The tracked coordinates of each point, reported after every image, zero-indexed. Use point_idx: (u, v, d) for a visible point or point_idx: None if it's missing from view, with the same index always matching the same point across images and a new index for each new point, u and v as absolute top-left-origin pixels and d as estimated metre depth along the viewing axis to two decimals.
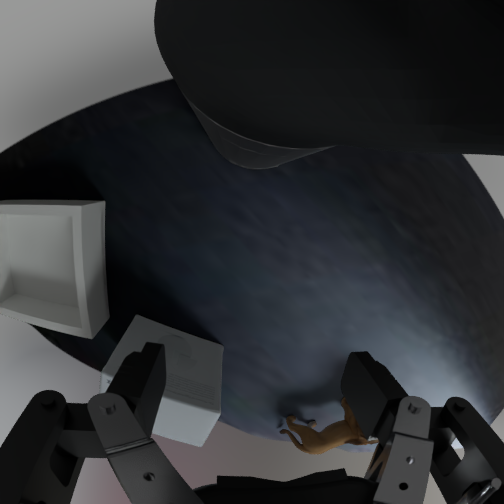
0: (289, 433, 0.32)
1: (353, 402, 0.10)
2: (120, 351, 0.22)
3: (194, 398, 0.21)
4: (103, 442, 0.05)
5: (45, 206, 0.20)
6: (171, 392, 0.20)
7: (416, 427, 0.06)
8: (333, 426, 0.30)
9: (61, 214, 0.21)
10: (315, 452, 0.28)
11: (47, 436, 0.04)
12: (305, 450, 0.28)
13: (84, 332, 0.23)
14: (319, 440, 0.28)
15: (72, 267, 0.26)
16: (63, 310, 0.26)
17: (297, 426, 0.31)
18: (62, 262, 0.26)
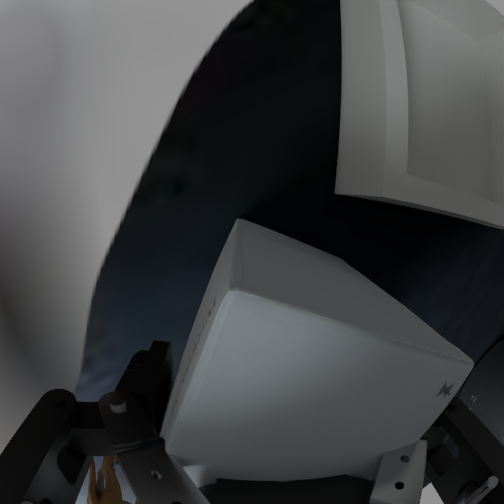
0: (94, 466, 0.15)
1: None
2: None
3: None
4: (111, 439, 0.05)
5: None
6: None
7: None
8: None
9: None
10: None
11: (55, 435, 0.04)
12: None
13: (397, 177, 0.09)
14: None
15: (433, 143, 0.13)
16: None
17: (114, 477, 0.15)
18: (437, 122, 0.12)
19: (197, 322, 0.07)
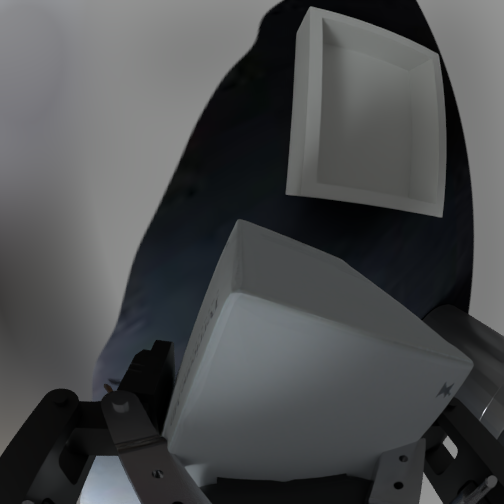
0: None
1: None
2: None
3: None
4: (114, 439, 0.05)
5: (444, 167, 0.19)
6: None
7: None
8: None
9: (438, 189, 0.19)
10: None
11: (58, 434, 0.04)
12: None
13: (310, 184, 0.18)
14: None
15: (355, 157, 0.22)
16: None
17: None
18: (360, 142, 0.22)
19: (198, 323, 0.07)
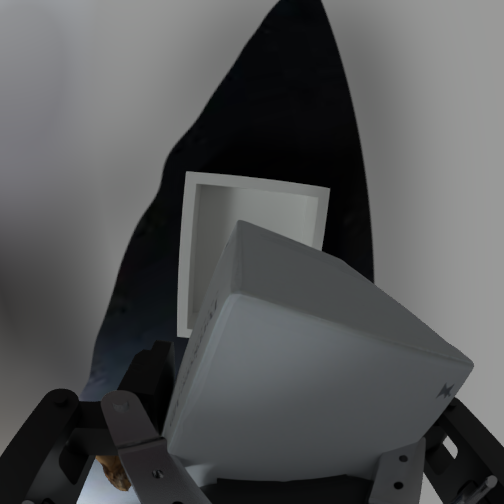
0: None
1: None
2: None
3: None
4: (113, 439, 0.05)
5: None
6: None
7: None
8: None
9: None
10: None
11: (58, 434, 0.05)
12: None
13: (183, 330, 0.27)
14: None
15: None
16: (192, 280, 0.29)
17: None
18: None
19: (198, 324, 0.07)
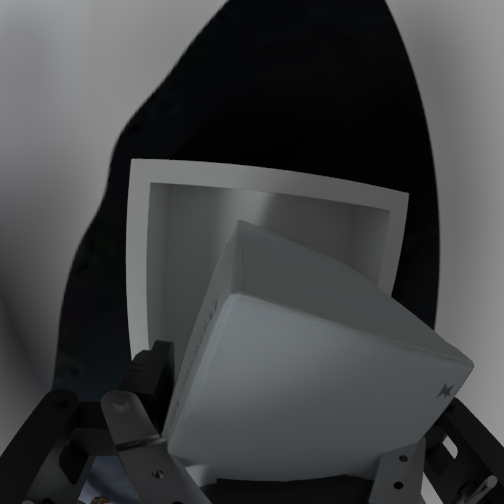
0: None
1: None
2: None
3: None
4: (113, 439, 0.05)
5: None
6: None
7: None
8: None
9: None
10: None
11: (58, 434, 0.04)
12: None
13: None
14: None
15: None
16: None
17: None
18: None
19: (198, 324, 0.07)
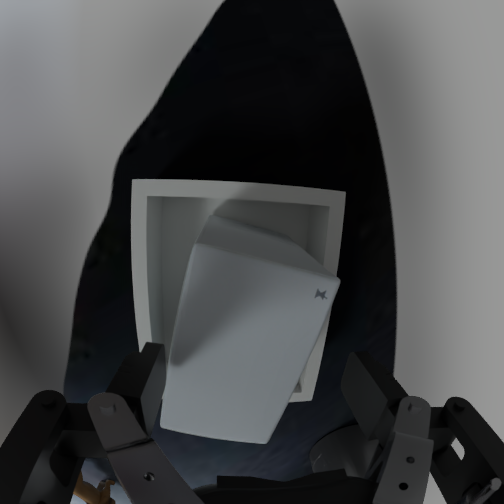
0: None
1: (353, 402, 0.10)
2: None
3: None
4: (103, 442, 0.05)
5: (319, 357, 0.19)
6: None
7: (416, 427, 0.06)
8: (92, 489, 0.24)
9: (306, 379, 0.19)
10: None
11: (47, 436, 0.04)
12: None
13: None
14: (80, 489, 0.22)
15: None
16: (160, 325, 0.21)
17: None
18: None
19: None
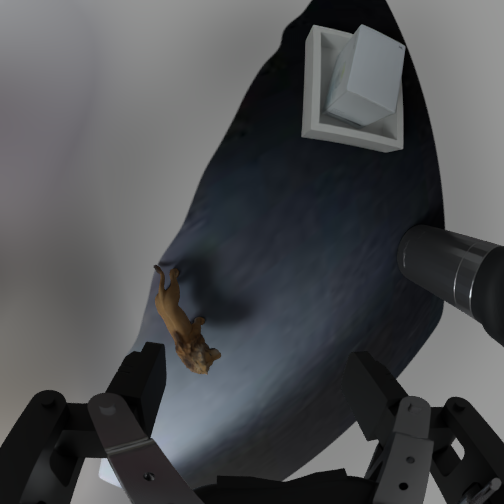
0: (163, 274, 0.36)
1: (353, 402, 0.10)
2: None
3: None
4: (102, 442, 0.05)
5: (402, 118, 0.30)
6: None
7: (416, 426, 0.06)
8: (185, 315, 0.36)
9: (398, 131, 0.31)
10: (163, 304, 0.33)
11: (47, 436, 0.04)
12: (163, 294, 0.33)
13: (315, 123, 0.30)
14: (176, 304, 0.34)
15: None
16: None
17: (176, 280, 0.36)
18: None
19: (350, 43, 0.25)
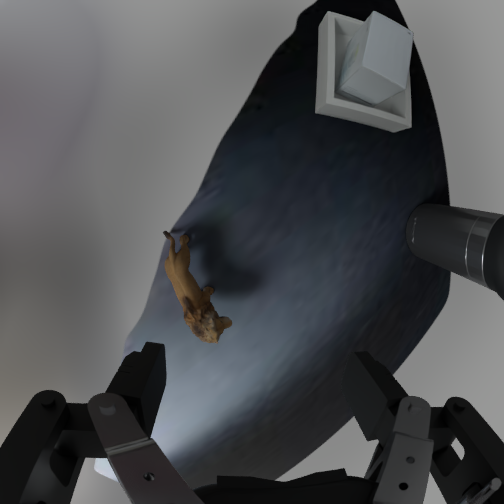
0: (173, 239, 0.36)
1: (353, 402, 0.10)
2: None
3: None
4: (103, 442, 0.05)
5: (410, 99, 0.31)
6: None
7: (416, 427, 0.06)
8: (195, 281, 0.35)
9: (406, 110, 0.31)
10: (174, 267, 0.32)
11: (47, 436, 0.04)
12: (174, 256, 0.32)
13: (331, 98, 0.30)
14: (187, 268, 0.33)
15: None
16: None
17: None
18: None
19: (363, 27, 0.25)
